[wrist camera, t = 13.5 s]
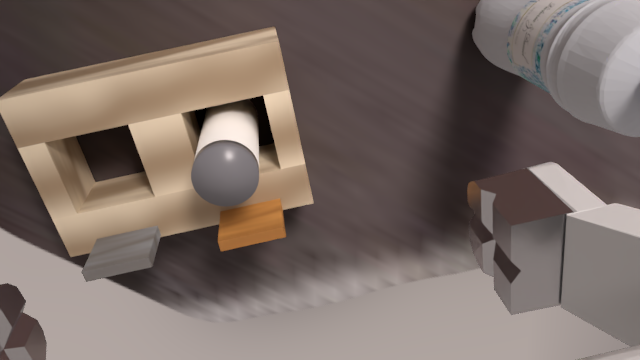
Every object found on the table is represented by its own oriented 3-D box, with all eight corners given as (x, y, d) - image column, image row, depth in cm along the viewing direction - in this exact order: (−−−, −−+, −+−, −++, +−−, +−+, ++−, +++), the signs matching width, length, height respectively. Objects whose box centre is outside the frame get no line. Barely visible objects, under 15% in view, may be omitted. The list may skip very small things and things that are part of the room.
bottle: (492, -45, 38) (713, -12, 20) (565, -5, 40) (827, 58, 22) (445, 43, 40) (605, 143, 22) (516, 77, 42) (715, 194, 24)
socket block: (24, 79, 37) (-36, 123, 29) (274, 26, 38) (282, 55, 30) (88, 221, 43) (52, 291, 35) (306, 174, 43) (320, 231, 35)
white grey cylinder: (198, 100, 40) (182, 155, 31) (251, 87, 40) (249, 139, 31) (214, 147, 41) (202, 212, 33) (264, 136, 41) (266, 198, 33)
